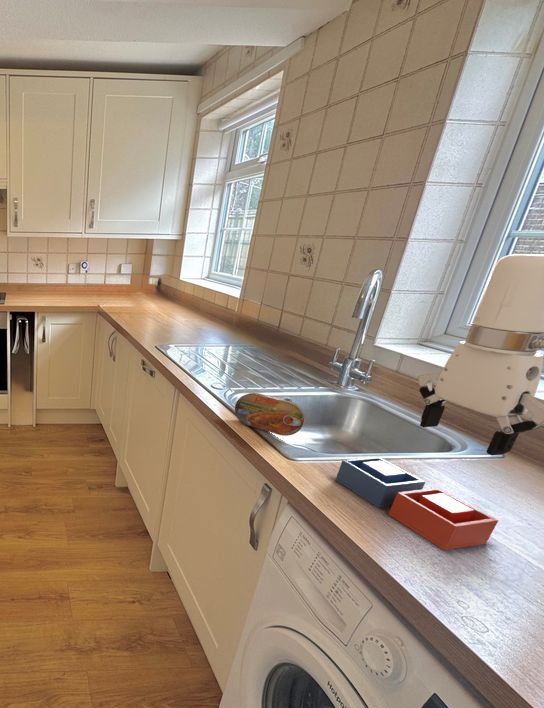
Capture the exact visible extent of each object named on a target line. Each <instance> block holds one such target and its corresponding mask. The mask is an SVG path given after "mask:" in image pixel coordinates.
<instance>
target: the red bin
mask: <svg viewBox="0 0 544 708" xmlns="http://www.w3.org/2000/svg"><path fill="white" fill-rule="evenodd" d="M440 493H443V494H445V495H447V496H449V497H451V498H453V499H455V500H456V501H458V502H460V503H462V504H464V505H466V506H468V507H469V508H471V509H473V510H475V511H474V513H473V515H472V517H471V519H470V521H469V522H464V523H457V524H454V523H452V522H451V521H449V520H447V519H445V518H444V517H442V516H440V515H439V514H437V513H435V512H433V511H432V510H430V509H428V508H427V507H425V506H423V505H421V504H420V503H419V500H420V498H421V496H424V495H432V494H440ZM388 516H390V517H392V518H394V519H395V520H397V521H398V522H399V523H401V524H403V525H404V526H406V527H407V528H409V529H410V530H412V531H413V532H414V533H417V534H418V535H420V536H421V537H422V538H424V539H426V540H427V541H429V542H430V543H432V544H433V545H435V546H437V547H438V548H440V550H443V551H448V550H455V549H462V548H466V547H473V546H480V545H486V544H487V543H488V541H489V540H490V537H491V535H492V534H493V532H494V531H495V528H496V526H497V524H498V522H499V520H498V519H497V518H495V517H493V516H491V515H489V514H487V513H485V512H483V511H481V510H480V509H478V508H476V507H474V506H472V505H471V504H469V503H466V502H465V501H464V500H461V499H460V498H458V497H455V496H453V495H452V494H449V493H448V492H446V491H444V490H443V489H441V488H438V487H432V488H423V489H422V490H414V491H405V492H398V493H397V495H396V497H395V500H394V502H393V504H392V506H390V509H389V512H388Z"/></svg>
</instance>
